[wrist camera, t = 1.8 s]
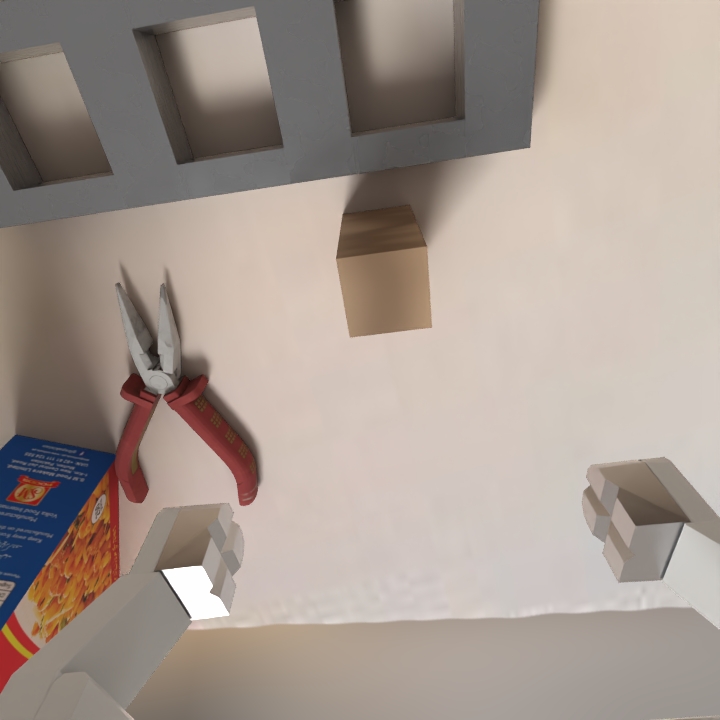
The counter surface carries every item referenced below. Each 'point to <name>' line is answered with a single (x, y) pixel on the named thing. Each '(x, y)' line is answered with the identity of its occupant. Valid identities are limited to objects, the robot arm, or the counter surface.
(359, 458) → the counter surface
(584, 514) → the robot arm
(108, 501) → the pasta box
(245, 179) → the grey peg hole board
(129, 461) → the pliers
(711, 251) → the counter surface
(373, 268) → the square peg
